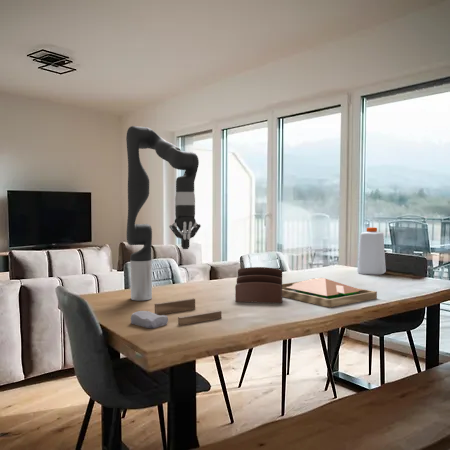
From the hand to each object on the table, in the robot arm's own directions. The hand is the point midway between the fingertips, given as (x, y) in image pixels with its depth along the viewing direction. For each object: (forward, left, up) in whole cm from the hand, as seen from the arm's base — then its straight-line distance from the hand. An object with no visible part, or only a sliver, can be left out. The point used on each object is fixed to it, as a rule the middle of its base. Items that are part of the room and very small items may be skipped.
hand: (185, 248), depth 171 cm
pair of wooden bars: (+6, -3, -24) cm, 25 cm away
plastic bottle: (-23, +143, -25) cm, 147 cm away
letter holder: (-1, +37, -25) cm, 44 cm away
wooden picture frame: (+7, +65, -24) cm, 70 cm away
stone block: (+8, -18, -25) cm, 32 cm away
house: (+7, +68, -25) cm, 73 cm away
